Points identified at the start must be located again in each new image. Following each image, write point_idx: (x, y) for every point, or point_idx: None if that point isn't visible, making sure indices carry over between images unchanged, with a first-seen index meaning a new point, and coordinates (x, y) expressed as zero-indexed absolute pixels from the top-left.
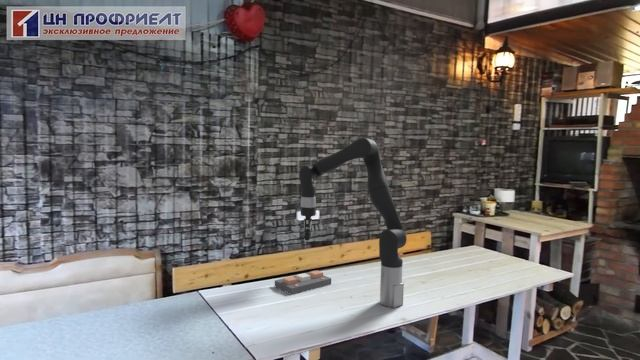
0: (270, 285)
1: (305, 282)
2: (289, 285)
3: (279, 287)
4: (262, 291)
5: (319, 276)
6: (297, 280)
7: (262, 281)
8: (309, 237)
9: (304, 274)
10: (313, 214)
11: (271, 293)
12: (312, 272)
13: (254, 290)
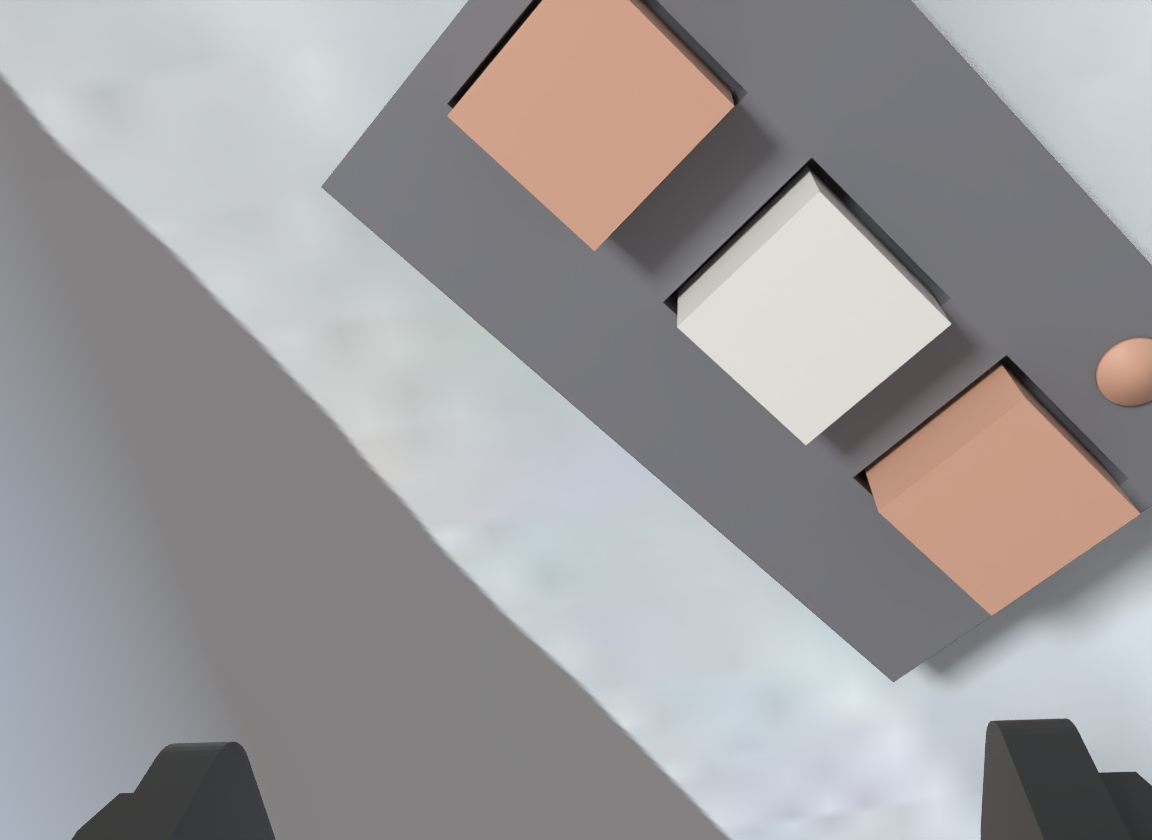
0: (824, 675)
1: (974, 239)
2: (1131, 464)
3: None
4: None
5: (657, 21)
6: None
7: (684, 776)
8: (1081, 805)
9: (755, 314)
10: None
11: (1137, 620)
12: (611, 183)
13: None
